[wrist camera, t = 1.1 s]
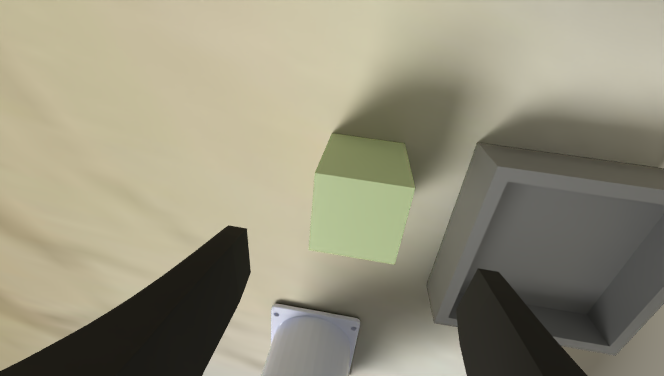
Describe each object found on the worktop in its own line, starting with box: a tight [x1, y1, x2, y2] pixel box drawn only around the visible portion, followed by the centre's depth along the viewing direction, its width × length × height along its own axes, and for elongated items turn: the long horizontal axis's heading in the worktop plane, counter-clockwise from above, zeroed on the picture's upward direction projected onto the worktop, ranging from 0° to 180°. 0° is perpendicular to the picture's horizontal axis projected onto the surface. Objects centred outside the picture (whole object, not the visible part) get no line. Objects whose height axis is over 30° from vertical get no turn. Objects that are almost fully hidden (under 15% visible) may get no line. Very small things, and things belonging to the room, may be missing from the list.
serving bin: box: [427, 143, 664, 355], centre depth 19 cm, size 12×12×4 cm
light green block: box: [309, 133, 415, 265], centre depth 17 cm, size 5×5×6 cm
